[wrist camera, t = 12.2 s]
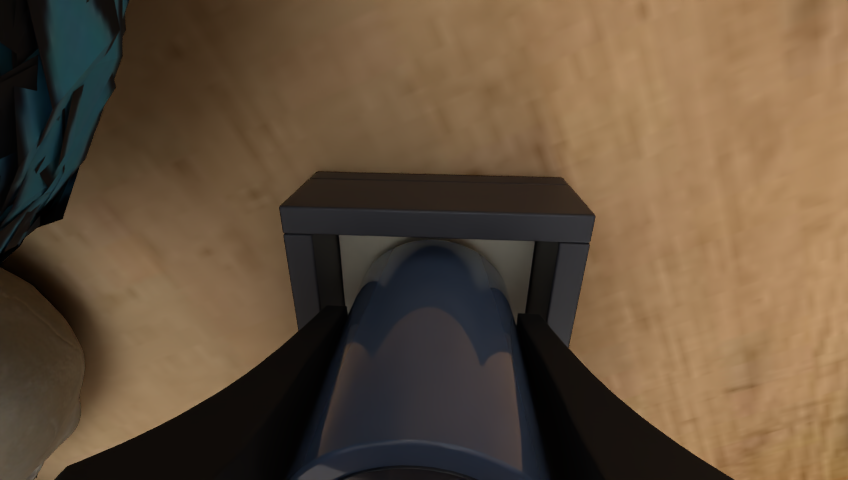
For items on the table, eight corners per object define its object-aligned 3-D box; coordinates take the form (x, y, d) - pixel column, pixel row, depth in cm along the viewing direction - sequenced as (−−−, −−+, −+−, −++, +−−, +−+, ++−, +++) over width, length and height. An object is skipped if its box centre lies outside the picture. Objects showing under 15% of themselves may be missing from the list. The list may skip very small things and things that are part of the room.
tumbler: (502, 368, 14) (544, 628, 8) (362, 362, 14) (292, 607, 8) (517, 241, 12) (592, 456, 6) (352, 236, 12) (247, 435, 6)
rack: (513, 483, 20) (524, 560, 17) (349, 472, 20) (332, 546, 17) (563, 177, 13) (596, 215, 10) (316, 171, 13) (277, 206, 10)
